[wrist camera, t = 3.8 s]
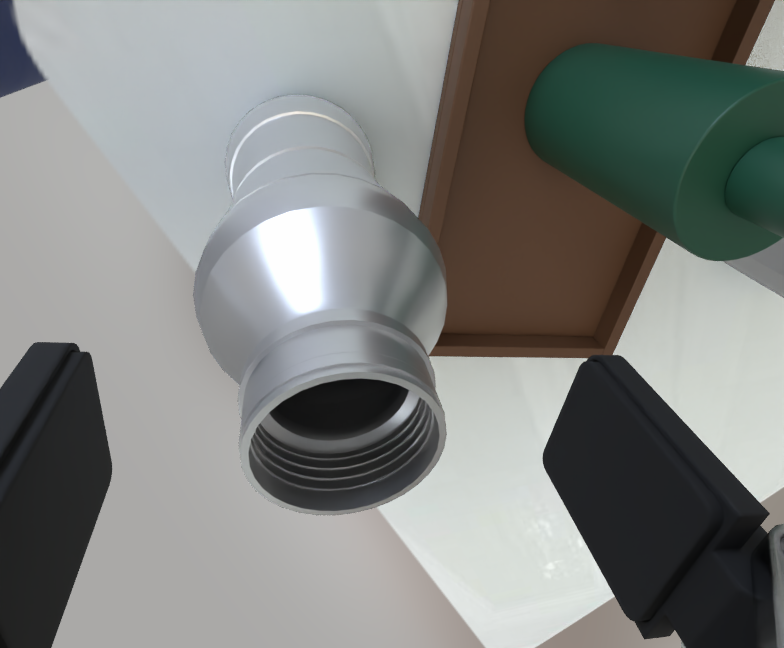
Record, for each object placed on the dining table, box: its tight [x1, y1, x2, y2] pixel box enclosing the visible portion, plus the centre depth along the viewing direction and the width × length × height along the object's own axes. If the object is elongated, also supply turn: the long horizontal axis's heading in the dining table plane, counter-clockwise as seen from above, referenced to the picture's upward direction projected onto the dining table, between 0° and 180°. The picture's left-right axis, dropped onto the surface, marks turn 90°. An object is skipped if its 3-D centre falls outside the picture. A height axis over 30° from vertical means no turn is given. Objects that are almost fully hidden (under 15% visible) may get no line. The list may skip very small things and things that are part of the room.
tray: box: [418, 0, 775, 358], centre depth 26 cm, size 15×30×2 cm, turn 172°
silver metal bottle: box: [193, 94, 447, 515], centre depth 17 cm, size 6×7×20 cm
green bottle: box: [525, 43, 784, 261], centre depth 19 cm, size 6×6×17 cm
